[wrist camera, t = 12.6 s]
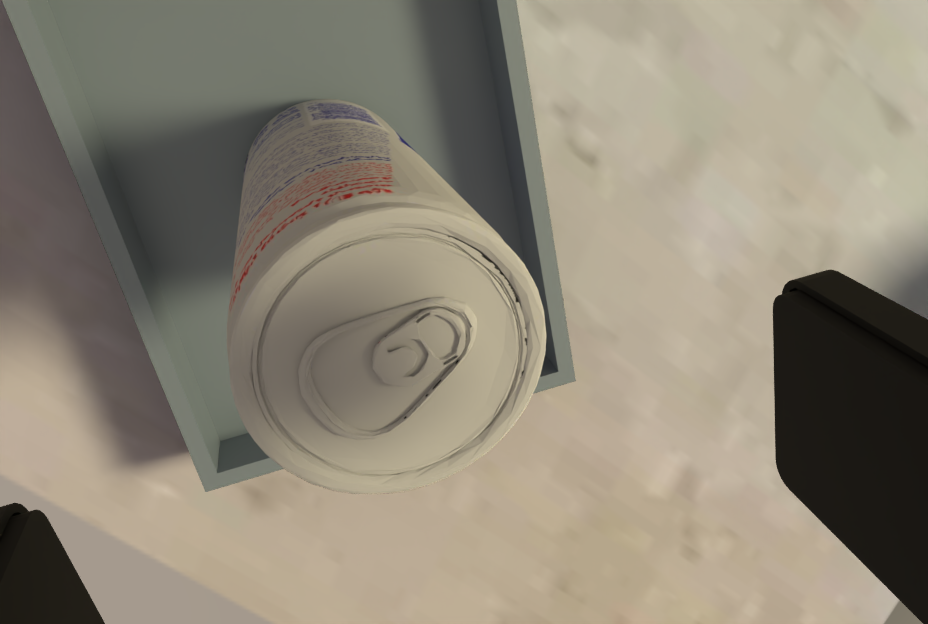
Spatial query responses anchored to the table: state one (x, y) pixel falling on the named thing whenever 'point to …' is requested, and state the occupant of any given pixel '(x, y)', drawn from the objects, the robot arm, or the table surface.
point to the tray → (234, 130)
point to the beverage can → (372, 309)
